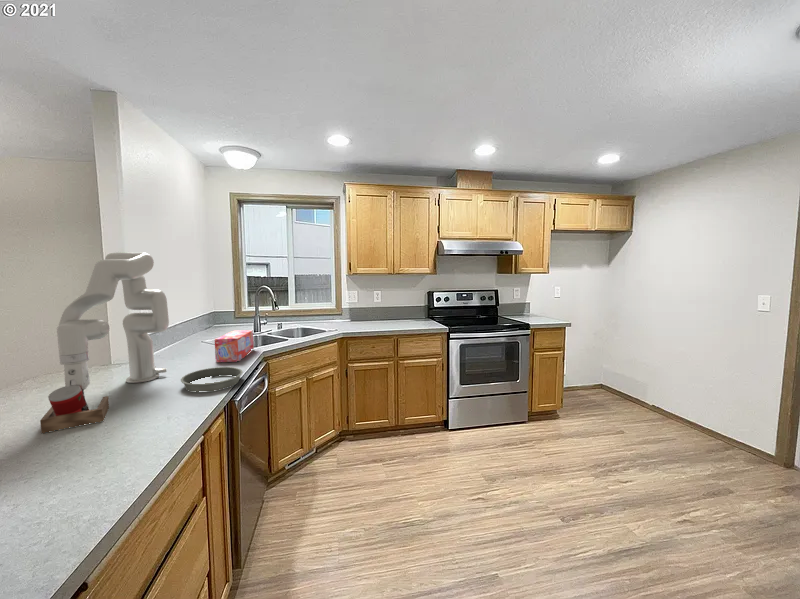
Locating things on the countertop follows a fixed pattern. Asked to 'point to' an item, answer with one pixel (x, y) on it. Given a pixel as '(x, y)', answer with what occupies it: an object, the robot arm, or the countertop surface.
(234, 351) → the box
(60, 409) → the canned food
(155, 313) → the robot arm
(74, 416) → the walnut holder
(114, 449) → the countertop surface
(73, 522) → the countertop surface
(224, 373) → the cake pan
